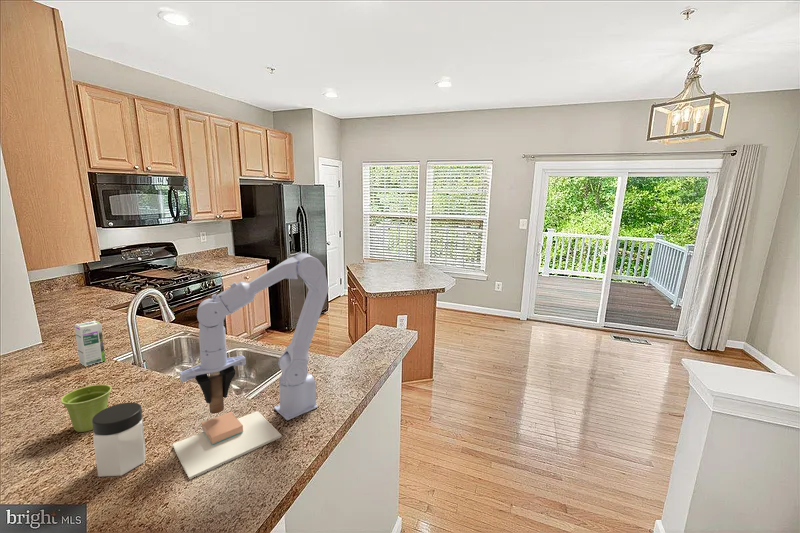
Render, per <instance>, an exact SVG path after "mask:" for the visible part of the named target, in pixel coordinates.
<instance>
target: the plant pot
mask: <svg viewBox="0 0 800 533" xmlns="http://www.w3.org/2000/svg"><path fill="white" fill-rule="evenodd" d="M112 389H113V388H112V386H111V385H109V384H92V385H87V386H84V387H83V386H82V387H81V388H80V387H79V388H77V389H75V390H72V391H70V392H68V393H65V395H63V396H62V397H61V398H60V402H61V404H62V405H64V408H66V410H67V413H68V416H69V418H70V422H71V424H72V427H73V430H74V431H76V432H77V433H84V432H90V431H93V424H92V419H93V417H94V416H95V415H96V414H97V413H99V412H100V411H102V410H104V409H106V408H108V407H109V406H108V403H109V396H110V394H111V393H110V392H111V391H112Z"/></svg>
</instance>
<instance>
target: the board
mask: <svg viewBox="0 0 800 533" xmlns="http://www.w3.org/2000/svg"><path fill="white" fill-rule="evenodd" d="M237 419H238V420H239V421H240V423H241V424H242V425H243V433H241V434H238V435H236V436H234V437H231V438H229V439H226V440H224V441H222V442H219V443H217V444H215V445H212V444H211V442H210V440H209V439H208V437H207V436H206V434H205V433H204V431H202V432H199V433H197V434H195V435H191V436H190V437H187V438H184V439H181V440H179V441H177V442H174V443H172V448H173V450H174V452H175V454H176V456H177V458H178V460H179V462H180V464H181V466H182V468H183V470H184V473H185V475H186V474H187V475H186V476H188V477H187V479H188V478H189V479H190V480H192V478H193V479H194V477H195V478H197V477H199V476H201V475H203V474H205V473H208V472H210V471H212V470H214V469H216V468H218V467H220V466H222V464H223V465H225V464H227V463H230V462H231V461H233V460H236V459H238V458H240V457H242V456H244V455H246V454H248V453H251V452H253V451H254V450H257V449H260V448H261V447H263V446H265V445H267V444H269V443H272V442H274V441H277V440H279V439H280V438H282V434H281V433H280V432H279V430H278V429H276V428H275V427H274V426H273V425H272V423H270V422H269V421H268V420H267V419H266V418H265V416H263V415H262V413H261V412H259V410H257V411H254V412H251V413H249V414H246V415H244V416H241V417H239V418H237ZM224 463H225V464H224ZM207 471H208V472H207ZM196 476H197V477H196ZM189 479H188V480H189Z"/></svg>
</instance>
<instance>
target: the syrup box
mask: <svg viewBox="0 0 800 533" xmlns="http://www.w3.org/2000/svg"><path fill="white" fill-rule="evenodd" d="M102 327H103V326H102V323H101V322H100V321H97V320H92V321H87V322H81V323H77V324H74V333H75V339H76V347H77V354H78V361H79V362H80V363H81V364H82V365H81V364H80V363H79V364H80V365H81V366H83V365H84V366H88V365H91V366H93V365H92V364H94V365H96V364H95V363H98V364H100V363H99V362H102V363H104V362H103V361H105V362H106V361H107V360H106V352H105V345H104V336H103V329H102ZM84 366H83V367H84ZM88 367H89V366H88Z"/></svg>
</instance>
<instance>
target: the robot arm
mask: <svg viewBox="0 0 800 533" xmlns="http://www.w3.org/2000/svg"><path fill="white" fill-rule="evenodd" d="M298 276H299V277H300V278H301V279H302V281H303V282H304V285H305V286H306V288H307V289H308V291H307V293H306V296H305V300H304V303H303V305H302V309H301V310H300V311H301V312H300V314H299V317H298V320H297V323H296V327H295V329H294V332H293V334H292V338H291V342H290V343H288V345H287V346H286V348H285V350H284V353H282V354H281V356H280V357H279V359H278V362H277V363H278V367H279V369H280V371H281V375H280V376H279V378H278V379H279V382H278V385H279V386H278V388H279V389H278V390H279V404H278V405H275V406H274V407H273V409H274V410H275V411H276V412H277V413H278V414H280V416H281V417H283V418H284V419H285V420H286V421H289V420H292V419H294V418H296V417H299V416H301V415H304V414H306V413H308V412H310V411H313V410H315V409H316V408H317V409H318V406H319V405H317V383H316V380H315V378H314V376H313V375H312V374H311V373H308V371H309V370H308V364H309V360H310V359H309V358H310V357H309V354H310V353H309V349H310V347H311V343H312V341H313V338H314V334H315V332H316V328H317V327H318V326H317V325H318V323H319V320H320V316H321V314H322V310H323V308H324V305H325V302H326V299H327V296H328V292H329V284H328V283H329V282H328V279H327V275H326V267H325V266H324V265H323V263H322V261H321V260H320V259H318V258H317V257H314V256H312V255H311V254H310V253H307V252H300V253H297V254H295V255H294V256H291V257H289V258H286V259H284V260H283V261H282V262H280V263H278V264H277V265H275V266H274V267H272V268H270V269H269V270H267V271H265V272H264V273H263V274H261V275H259V276H257V277H255V278H254V279H253V280H251V281H249V282H246V281H238V282H236V281H234V282H232V283H230V284H229V286H230V287H228V288H227V289H225V290H223V291H221V292H219V293H218V294H217V293H214V294H212V295H211V298H207V299H204V300H202V301H201V302H199V305H198V307H197V311H196V318H197V321H198V329H199V331H198V342H199V356H200V359H199V360H200V364H198V365H195V366H193V367H191V368H188V369H185V370H181V371H179V381H180V382H181V383H185V382H188V380H192V379H194V380H196V382H197V384H198V386H199V388H200V389H201V391H202V394H203V396H204V400H205V402H206V403H207V404H209V403H211V396H210V381H211V380H210V379H209V378H208V377H209V375H210V374H215V373H217V372H218V373H219V374H222V381H223V399H226V398H228V394H229V390H230V389H229V388H230V386H231V383H232V381H233V379H234V377H235V375H236V369H235V367H237V366H245V365H247V361H246V360H247V358H246V357H245V356H244V355H242V354H241V355H239V356H232V357H231V356H230V357H228V354H227V353H228V352H227V351H228V350H227V336H226V327H225V326H224V325H225V324H224V321H225V319H226V316H229V315H232V314H234V313H235V312H237V311H239V310H240V309H242V308H244V307H245V306H247V305H249V304H250V303H252V302H254V300H255V296H256V294H258V293H260V292H261V291H264V290H265V289H268V288H269V287H271V286H273V285H275V284H277V283H279V282H281V281H282V280H284V279H286V280H288V279H289V280H298V279H299V278H298Z"/></svg>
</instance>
